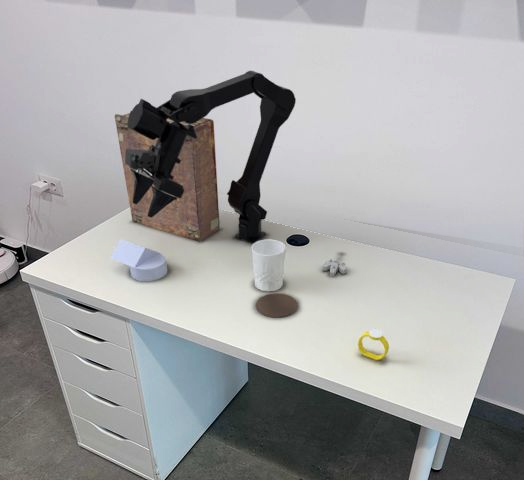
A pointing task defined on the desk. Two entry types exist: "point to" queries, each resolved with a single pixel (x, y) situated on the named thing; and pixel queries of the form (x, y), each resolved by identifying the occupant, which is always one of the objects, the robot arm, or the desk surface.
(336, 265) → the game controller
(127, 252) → the wedge on round base
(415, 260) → the desk surface
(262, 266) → the white cup
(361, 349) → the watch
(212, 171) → the book
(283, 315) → the coaster
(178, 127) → the robot arm
